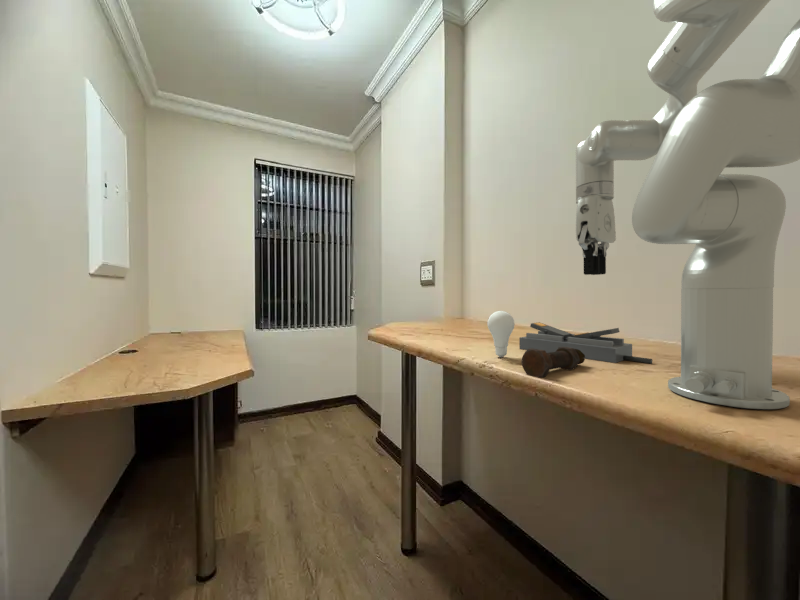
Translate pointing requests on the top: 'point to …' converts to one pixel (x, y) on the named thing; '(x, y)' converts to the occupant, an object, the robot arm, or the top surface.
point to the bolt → (550, 360)
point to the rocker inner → (596, 333)
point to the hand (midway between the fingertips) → (594, 273)
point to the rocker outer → (550, 330)
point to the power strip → (583, 346)
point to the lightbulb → (501, 330)
